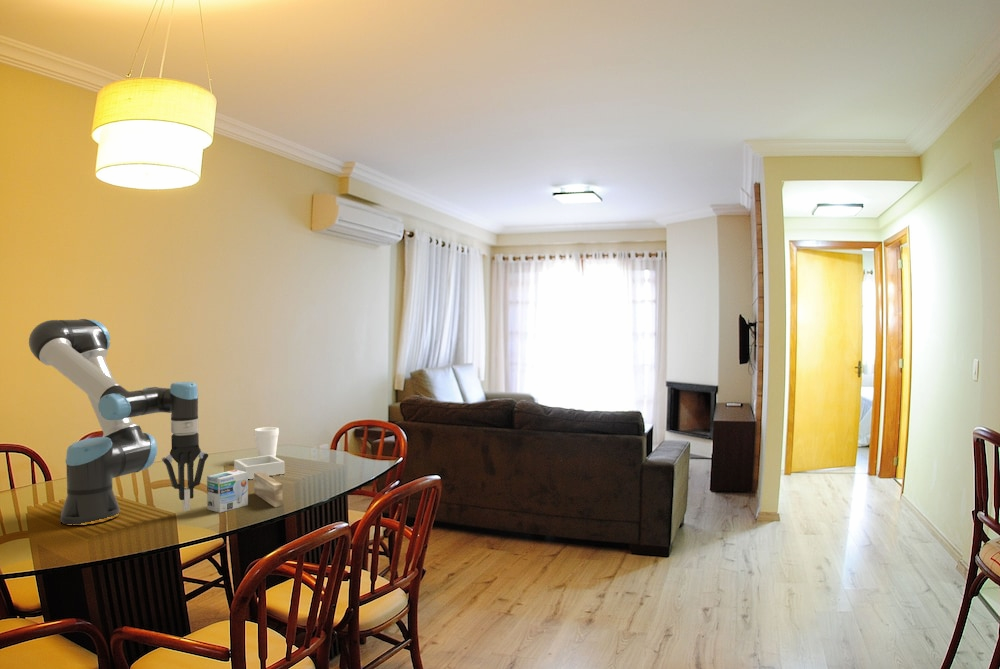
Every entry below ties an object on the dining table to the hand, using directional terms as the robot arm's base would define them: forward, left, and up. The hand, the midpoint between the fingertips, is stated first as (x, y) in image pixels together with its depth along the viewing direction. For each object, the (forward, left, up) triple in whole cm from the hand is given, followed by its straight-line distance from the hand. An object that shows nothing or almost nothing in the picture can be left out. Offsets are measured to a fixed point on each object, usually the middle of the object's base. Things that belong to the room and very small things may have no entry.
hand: (186, 509), depth 206 cm
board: (+25, +1, -2) cm, 25 cm away
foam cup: (+44, +58, -2) cm, 73 cm away
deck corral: (+34, +37, -2) cm, 51 cm away
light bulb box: (+12, 0, -2) cm, 12 cm away
